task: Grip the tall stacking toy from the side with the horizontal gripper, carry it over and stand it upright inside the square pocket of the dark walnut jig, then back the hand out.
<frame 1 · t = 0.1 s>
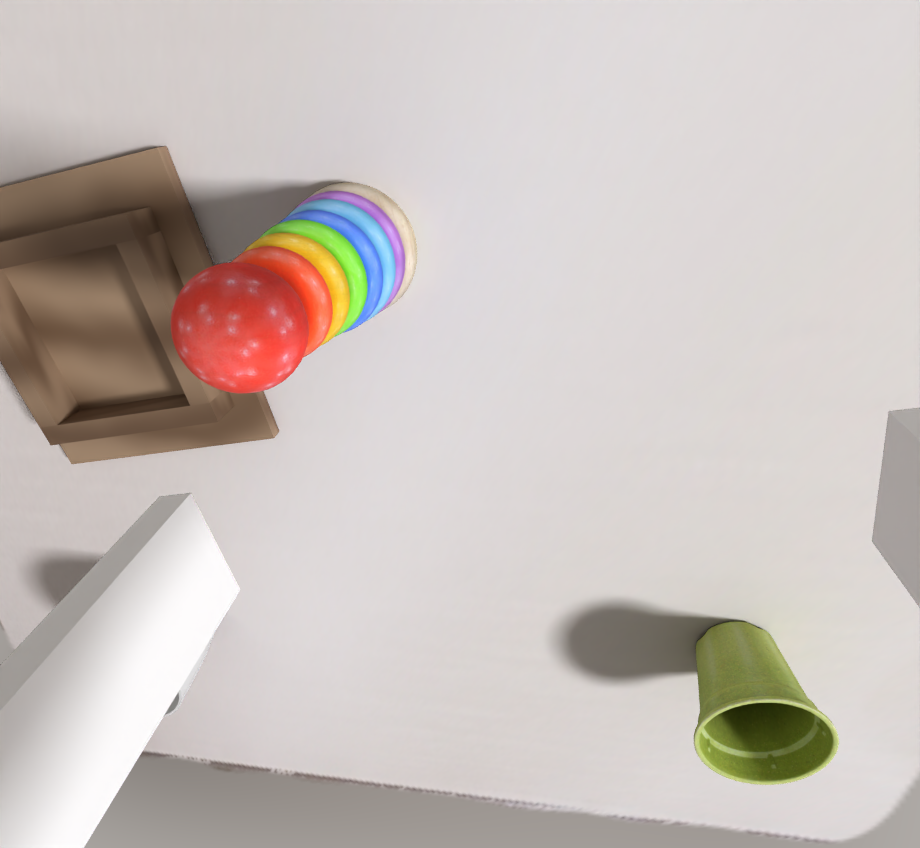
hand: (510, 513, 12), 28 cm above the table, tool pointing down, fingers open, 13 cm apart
walnut jig: (116, 325, 43), on the table
cup: (198, 589, 55), on the table
stacking toy: (358, 247, 38), on the table
plant pot: (732, 644, 50), on the table
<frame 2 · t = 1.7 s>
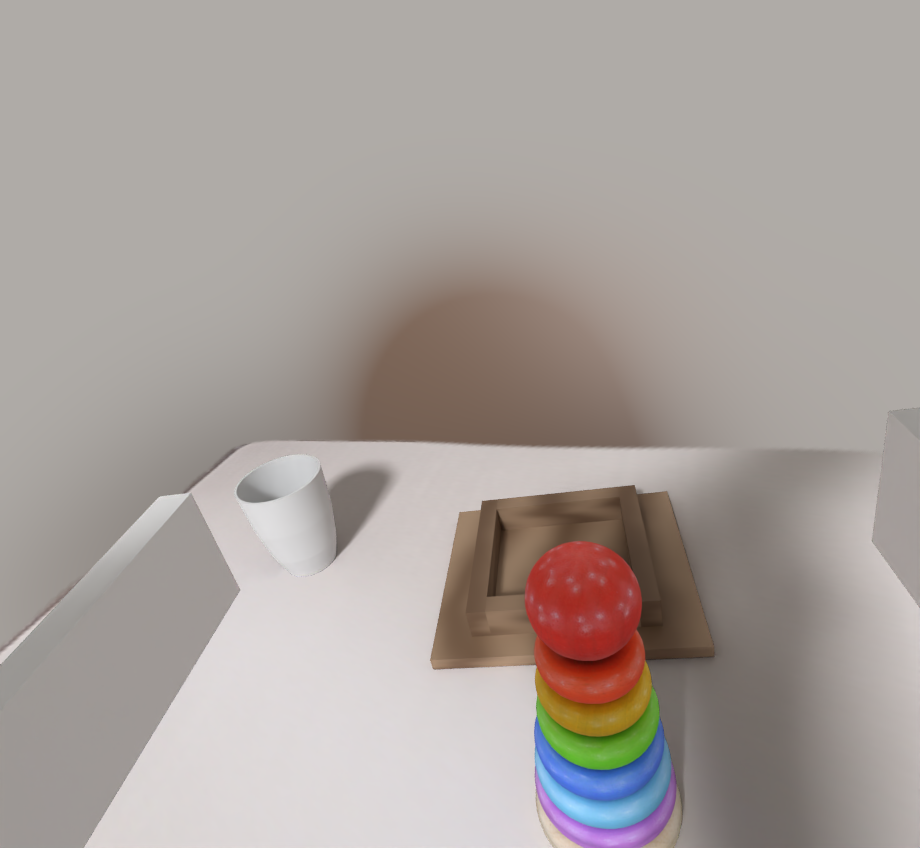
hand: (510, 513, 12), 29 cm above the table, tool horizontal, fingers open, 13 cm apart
walnut jig: (563, 575, 51), on the table
cup: (313, 560, 61), on the table
stacking toy: (608, 810, 34), on the table
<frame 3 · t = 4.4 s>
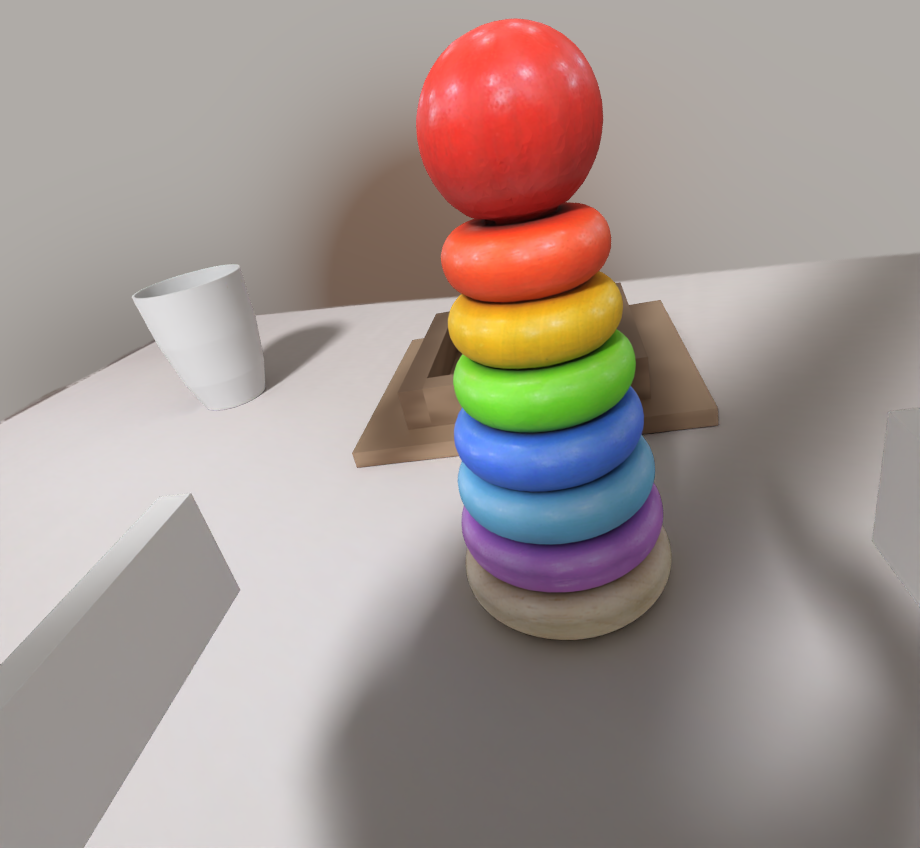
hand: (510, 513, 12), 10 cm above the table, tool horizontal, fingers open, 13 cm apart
walnut jig: (530, 379, 41), on the table
cup: (237, 398, 51), on the table
stacking toy: (568, 575, 24), on the table
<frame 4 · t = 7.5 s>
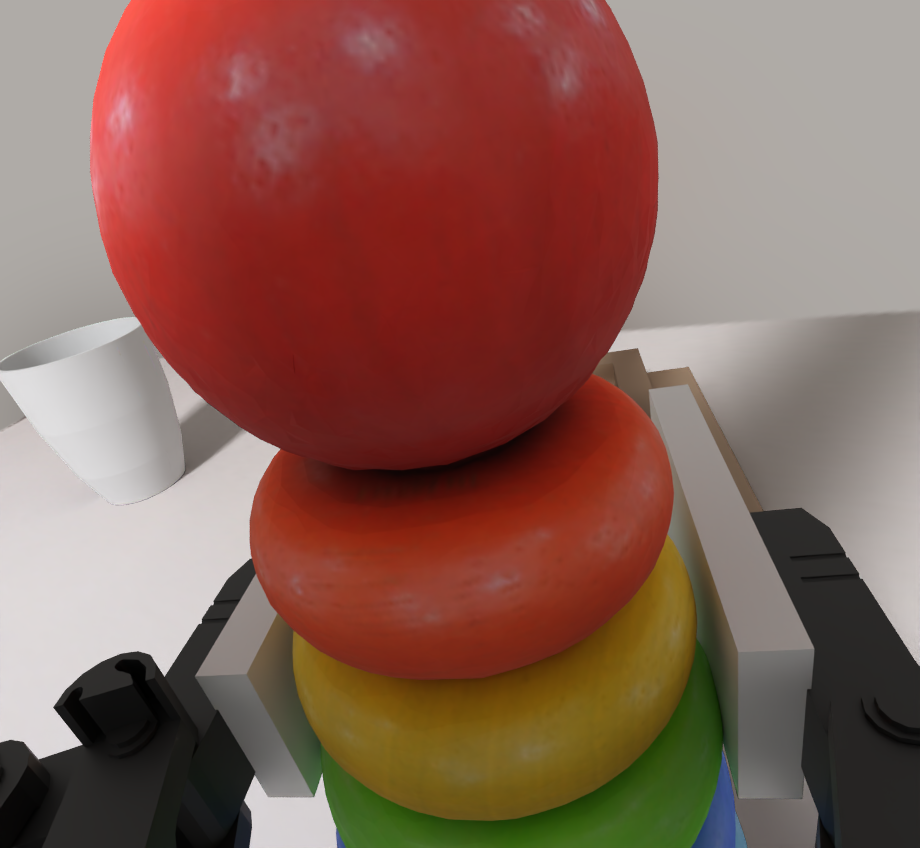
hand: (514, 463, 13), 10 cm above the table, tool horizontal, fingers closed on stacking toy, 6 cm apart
walnut jig: (518, 485, 30), on the table
cup: (148, 484, 40), on the table
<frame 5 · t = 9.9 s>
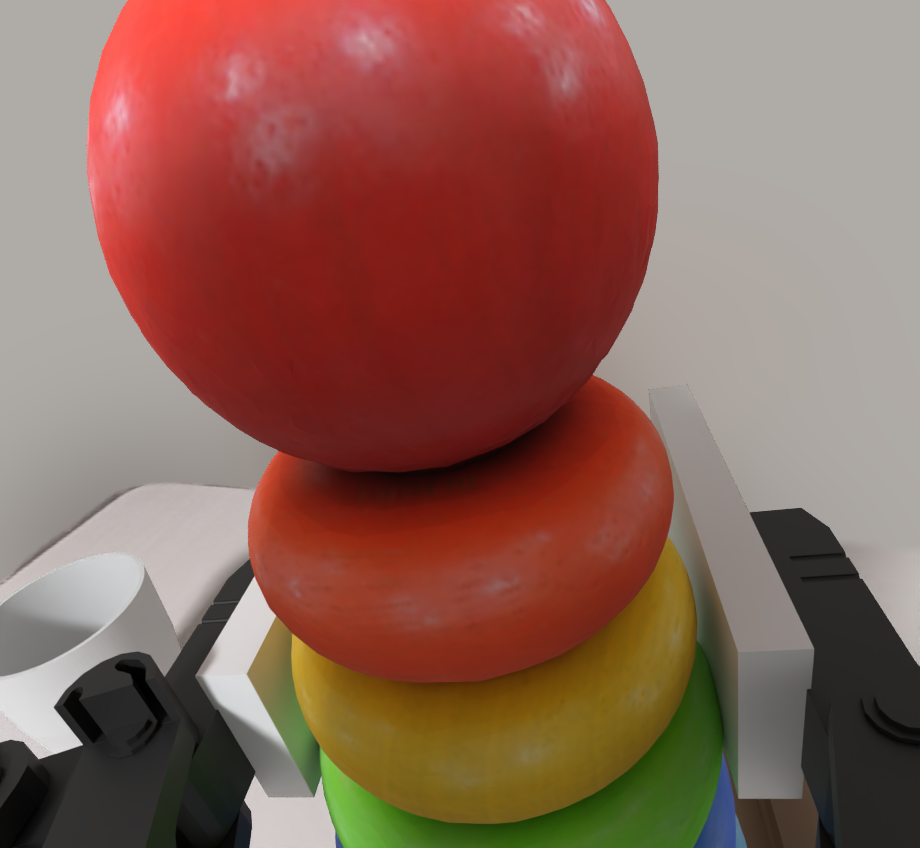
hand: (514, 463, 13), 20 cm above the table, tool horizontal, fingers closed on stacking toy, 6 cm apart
cup: (150, 741, 33), on the table
when the fingers open (12 cm above the table, at t = 12.6 s): stacking toy drops 1 cm, resting on walnut jig.
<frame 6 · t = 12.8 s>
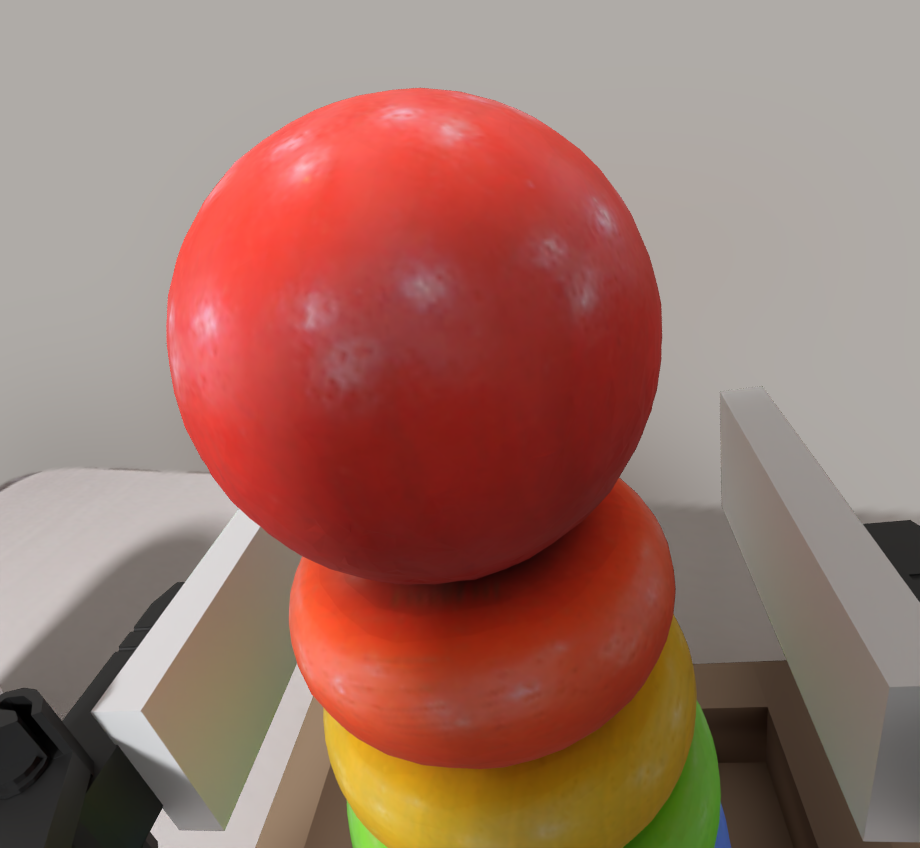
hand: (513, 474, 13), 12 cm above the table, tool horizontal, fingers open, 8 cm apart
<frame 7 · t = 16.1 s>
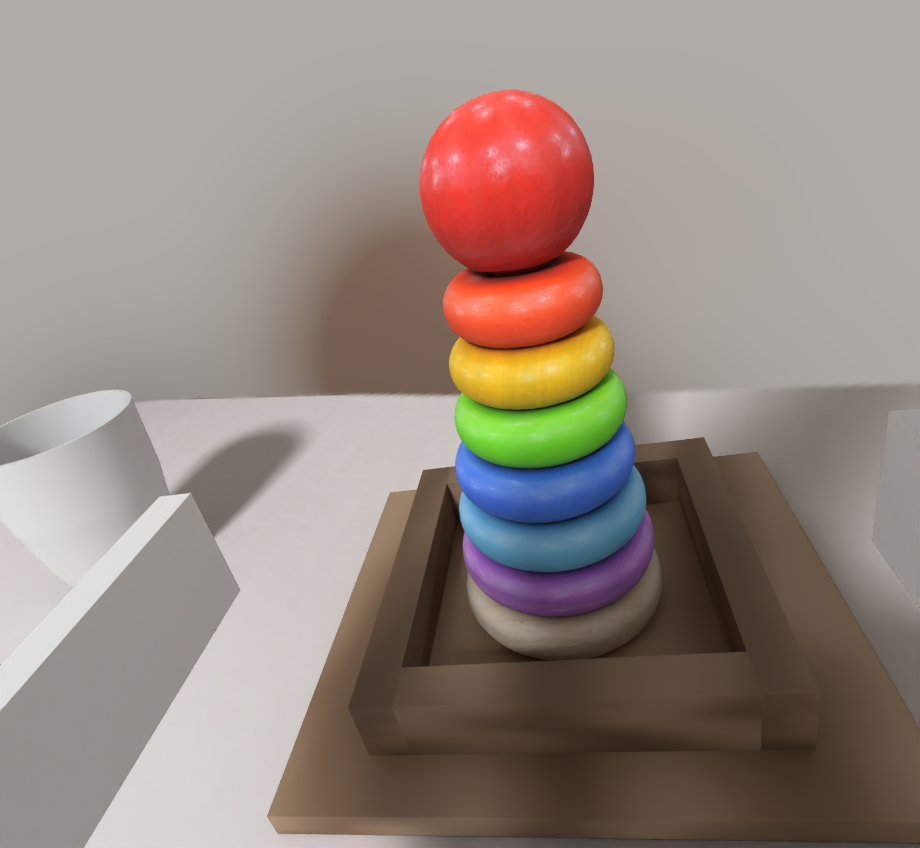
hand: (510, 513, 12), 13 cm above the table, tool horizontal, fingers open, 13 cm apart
walnut jig: (571, 610, 26), on the table
cup: (138, 575, 35), on the table
stacking toy: (565, 596, 25), point 1 cm above the table, touching walnut jig
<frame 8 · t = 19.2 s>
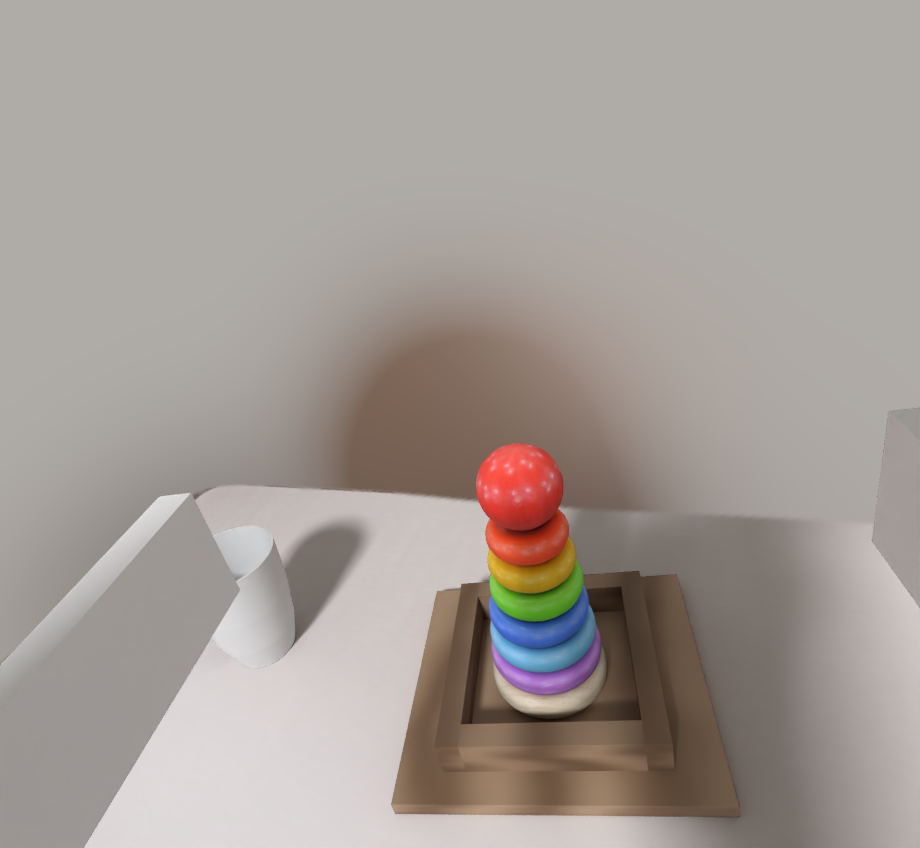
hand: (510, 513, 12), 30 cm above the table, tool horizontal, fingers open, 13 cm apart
walnut jig: (555, 683, 43), on the table
cup: (268, 646, 53), on the table
stacking toy: (551, 675, 43), point 1 cm above the table, touching walnut jig
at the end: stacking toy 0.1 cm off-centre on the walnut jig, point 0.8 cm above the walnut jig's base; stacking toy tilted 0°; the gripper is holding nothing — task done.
